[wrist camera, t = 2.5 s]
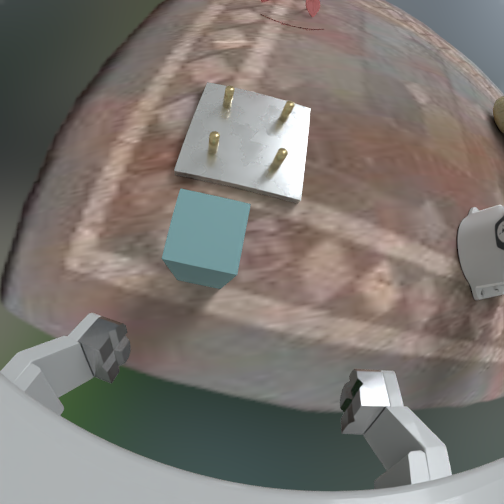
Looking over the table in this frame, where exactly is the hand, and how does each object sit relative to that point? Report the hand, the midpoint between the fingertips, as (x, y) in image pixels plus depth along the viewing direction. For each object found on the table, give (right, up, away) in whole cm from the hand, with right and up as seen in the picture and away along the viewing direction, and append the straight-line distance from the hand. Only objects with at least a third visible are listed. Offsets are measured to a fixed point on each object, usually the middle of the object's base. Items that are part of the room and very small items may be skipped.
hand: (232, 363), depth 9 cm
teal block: (-5, +3, +23) cm, 24 cm away
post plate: (0, +19, +27) cm, 33 cm away
